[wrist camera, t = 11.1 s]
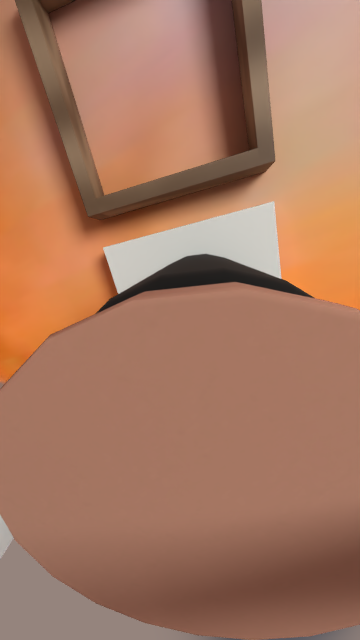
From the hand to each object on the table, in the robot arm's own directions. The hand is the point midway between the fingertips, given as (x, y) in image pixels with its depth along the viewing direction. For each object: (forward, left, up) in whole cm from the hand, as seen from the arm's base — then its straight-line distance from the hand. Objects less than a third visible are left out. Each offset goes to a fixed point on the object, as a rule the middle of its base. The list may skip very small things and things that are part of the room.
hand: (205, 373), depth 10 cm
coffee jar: (0, 0, -12) cm, 12 cm away
